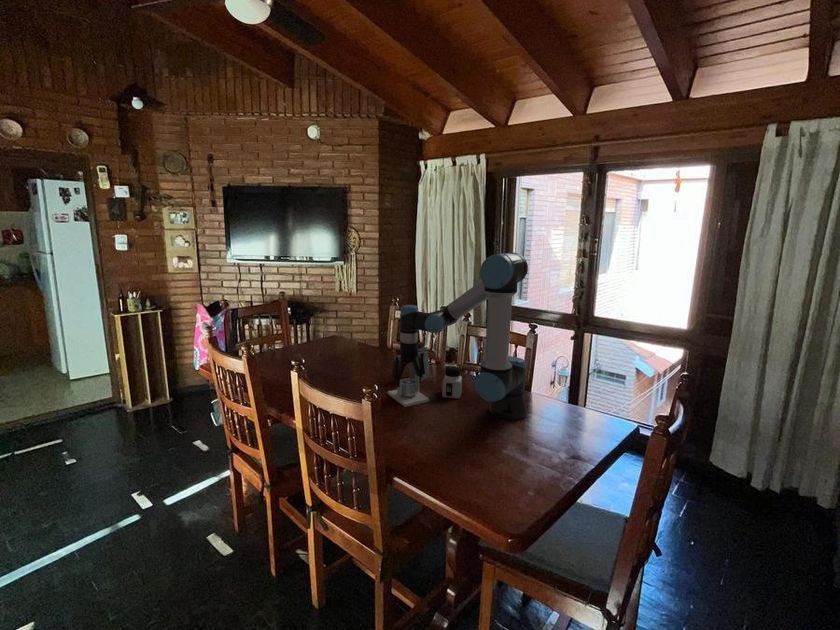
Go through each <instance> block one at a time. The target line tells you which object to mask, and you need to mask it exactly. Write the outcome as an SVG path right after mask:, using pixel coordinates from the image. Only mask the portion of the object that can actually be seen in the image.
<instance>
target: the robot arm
mask: <svg viewBox="0 0 840 630" xmlns="http://www.w3.org/2000/svg"><path fill="white" fill-rule="evenodd" d="M528 271H529V266H528V262H527V260H526V258H525V257H524V255H521V254H519V253H517V252H508V253H507V252H505V253H504V252H503V253H495V254H492V255H490V256H488V257H486V258H485V259H484V260H483V262H482V263H481V266H480V267H479V278H480V281H478V282H477V283H476V284H475V285H473V286H472V287H470V288H469V289H468V290H467V291H465V292H464V293H462V294H461V295H460V296H458V297H457V298H456V299H454V300H453V301H451V302H450V303H449V304H447V305H446V306H445V307H443V308H442V309H439V310H435V311H432V312H424V311H423V312H422V311H420V310H419V307H418V305H414V304H405V305H404V304H403V305H402V306H401V307H400V314H399V318H400V319H399V322H400V324H399V325H400V327H399V328H400V331H399V341H400V342H399V350H400V352H399V354H398V355H393V357H392V358H393V365H392V371H391V376H390V377H391V379H393V380H394V381H395V387H396V390H397V393H398V394H400V395H402V380H401V379H402V376H403V373H404V371H405V368H406V366H407V365H408V364H409V363H412V364H413V367H414V369H415V371H416V374H417V375H415V380H417V381H418V387H417V391H418V392H420V384H421V383H422V381H421V377H422V376H423V374H425V368H424V361H423V356H424V353H422V352H417V350H418V342H419V331H422V332H426V333H431V334H439V333H441V332H442V331H443V330H444V328H446V327H451V326H452V325H455V324H456V323H457V322H458V321H459V320H460V319H461V318H462V317H464V316H465V315H467V314H468V313H470V312H471V311H472V310H474V309H475V308H477V307H478V306H480V305H481V304H482V303H484V302H485V301H487V311H486V313H487V314H486V330H485V331H486V332H485V349H484V350H485V351H484V352H485V353H484V359H483V360H481V361H480V367H479V369H480V370H479V373H478V374H477V375H476V377H475V379H474V390H475V391H476V393H477V394H478V395H479V397H480V398H481V399H483V400H485V401H486V402H490V403H489V409H488V410H489V412H490V413H491V415H492V416H494V417H496V418H500V419H503V420H511V421H513V420H514V421H515V420H516V421H517V420H521V419H524V418H525V417H527V416H528V406H527V402H526V397H525V390H526V389H525V387H526V386H525V385H526V377H527V374H526V373H527V362H526V360H525V359H523V358H521V357H517V356H510V355H509V354H510V340H511V338H510V337H511V325H512V324H511V323H512V309H513V297H514V296H515V295H516V294H517V293H518V283H520V282H522V281H523V280H525V278H526V277H527V275H528ZM417 356H418V361H419V367H418V365H417V361H416V357H417ZM419 368H420V369H419Z"/></svg>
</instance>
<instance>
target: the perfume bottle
mask: <svg viewBox="0 0 840 630" xmlns="http://www.w3.org/2000/svg"><path fill="white" fill-rule="evenodd" d="M417 342H418V350H417V352H422V353H424V356H423V361H424V368H425V374H423V376H422V377H421V382H422V381H424V380H427V379H429V351H427V347H426V346H424V344H425V343H424V342H422V341H421V342H420V341H417ZM416 361H417V365H418V367H419V361H418V356H417V357H416ZM419 369H420V368H419ZM415 375H417V374H416V371H415V369H414V367H413V364H412V363H408V378H412V379H415Z"/></svg>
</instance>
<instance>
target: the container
mask: <svg viewBox="0 0 840 630" xmlns="http://www.w3.org/2000/svg"><path fill="white" fill-rule="evenodd" d="M444 374H445V375H444V378H443V379H442V390H441V391H442V393H441V394H442V396H441V397H443V398H452V399H460V398H461V395H462V392H463V391H462V387H463V386H462V385H463V376H461V367H459V366H458V365H447V366H446V367H445V371H444Z"/></svg>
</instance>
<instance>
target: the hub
mask: <svg viewBox="0 0 840 630" xmlns="http://www.w3.org/2000/svg"><path fill="white" fill-rule="evenodd" d="M400 379H401V380H402V395H404V396H413V395H416V394H417V387H418V381H417V380H415V379H412V378H409V377H408V378H407V377H406V378H400ZM406 381H411V383H410V384H407V383H406Z"/></svg>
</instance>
